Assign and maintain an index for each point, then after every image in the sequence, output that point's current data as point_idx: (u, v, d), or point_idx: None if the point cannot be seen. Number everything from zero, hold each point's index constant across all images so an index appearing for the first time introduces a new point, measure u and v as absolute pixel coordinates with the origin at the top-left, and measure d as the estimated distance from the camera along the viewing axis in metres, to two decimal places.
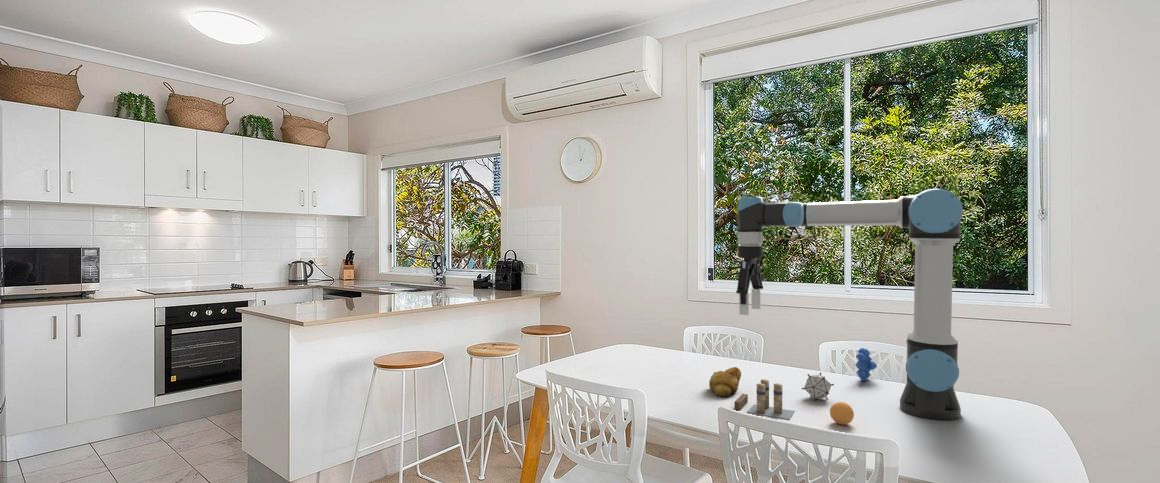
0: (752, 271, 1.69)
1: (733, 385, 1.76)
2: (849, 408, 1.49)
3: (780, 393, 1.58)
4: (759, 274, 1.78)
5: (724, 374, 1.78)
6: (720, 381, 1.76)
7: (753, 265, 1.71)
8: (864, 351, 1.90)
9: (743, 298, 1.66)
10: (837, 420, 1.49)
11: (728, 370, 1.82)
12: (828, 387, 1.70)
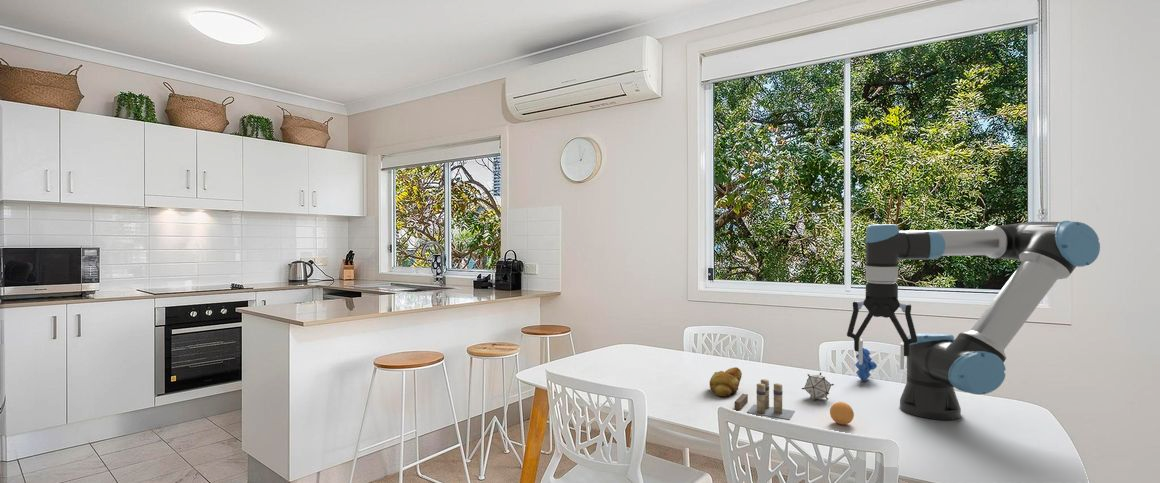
0: (868, 313, 1.45)
1: (733, 385, 1.76)
2: (849, 408, 1.49)
3: (780, 393, 1.58)
4: None
5: (724, 374, 1.77)
6: (720, 381, 1.76)
7: (872, 306, 1.45)
8: (864, 351, 1.90)
9: None
10: (837, 420, 1.49)
11: (729, 370, 1.81)
12: (828, 387, 1.70)
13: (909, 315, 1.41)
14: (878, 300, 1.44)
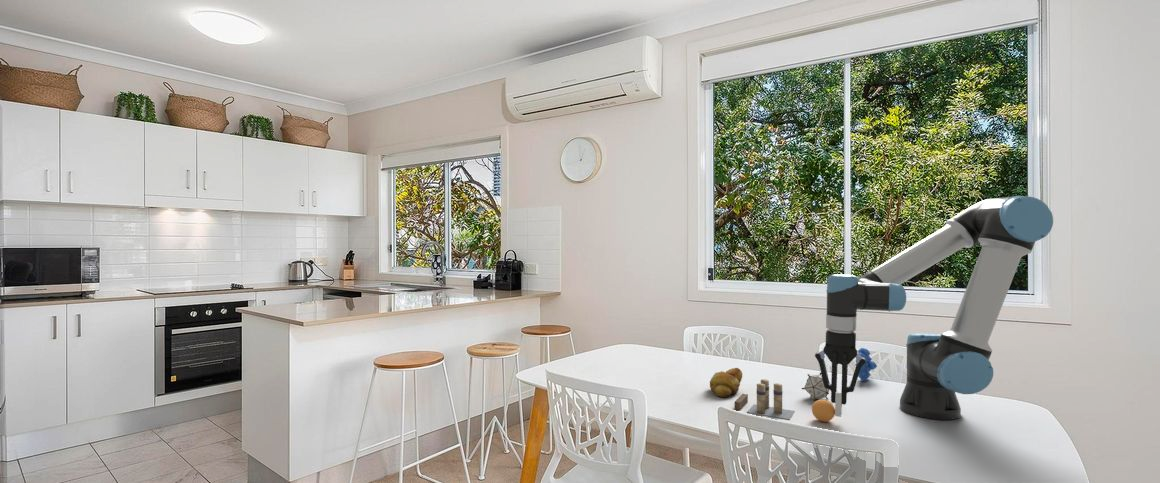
0: None
1: (733, 386, 1.75)
2: (817, 402, 1.53)
3: (780, 393, 1.58)
4: (853, 374, 1.48)
5: (724, 375, 1.77)
6: (720, 381, 1.75)
7: (832, 354, 1.50)
8: (864, 351, 1.90)
9: None
10: (827, 417, 1.50)
11: (729, 370, 1.81)
12: None
13: (859, 368, 1.47)
14: None
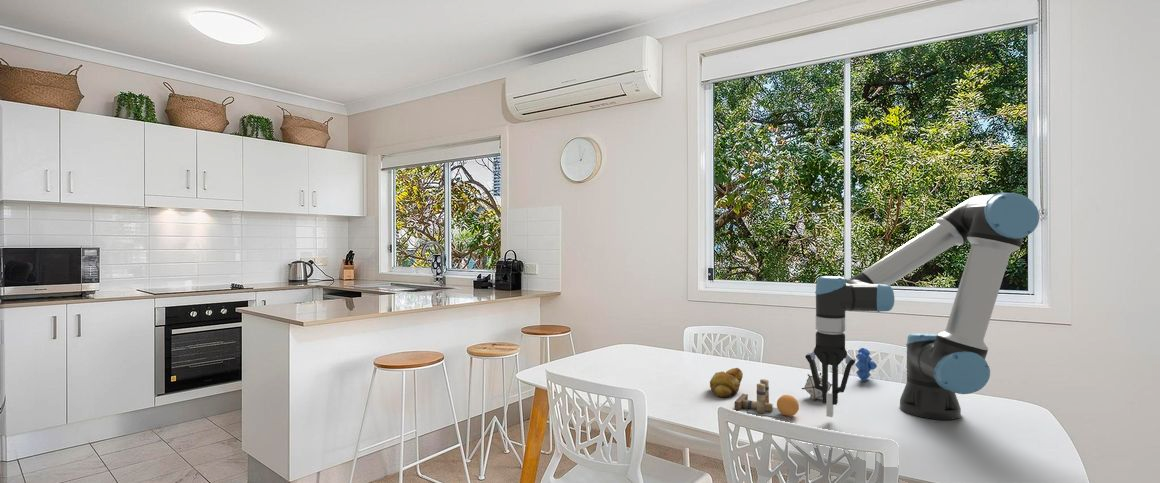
0: None
1: (733, 386, 1.75)
2: (792, 415, 1.56)
3: (749, 402, 1.63)
4: None
5: (724, 375, 1.77)
6: (720, 381, 1.75)
7: (822, 355, 1.51)
8: (864, 351, 1.90)
9: None
10: (782, 404, 1.56)
11: (729, 370, 1.81)
12: (828, 387, 1.70)
13: (849, 368, 1.48)
14: None
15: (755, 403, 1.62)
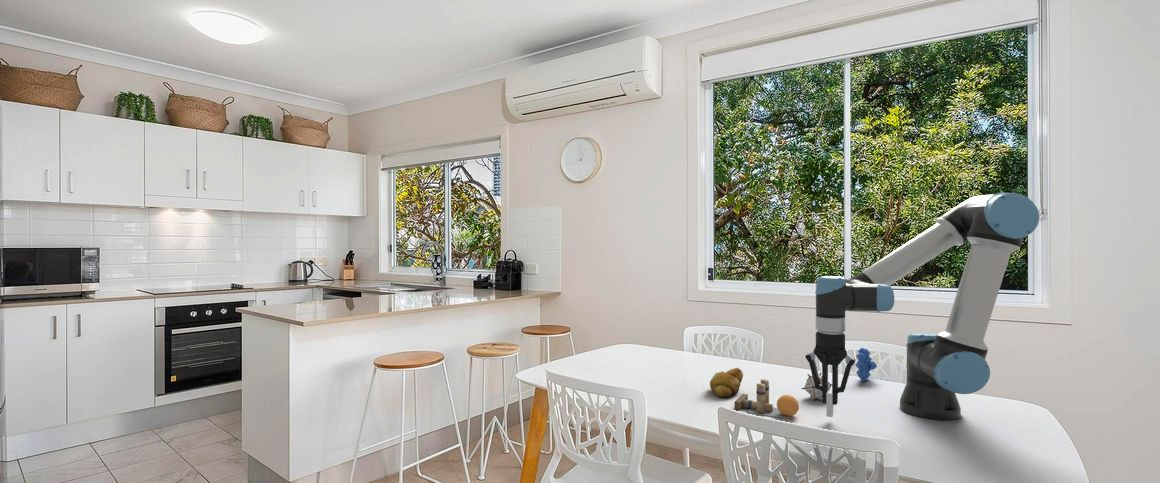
0: None
1: (733, 386, 1.75)
2: (792, 415, 1.56)
3: (750, 402, 1.63)
4: None
5: (725, 375, 1.77)
6: (720, 381, 1.75)
7: (822, 355, 1.51)
8: (864, 351, 1.90)
9: None
10: (782, 404, 1.56)
11: (730, 371, 1.80)
12: (828, 387, 1.70)
13: (849, 368, 1.48)
14: None
15: (755, 403, 1.62)
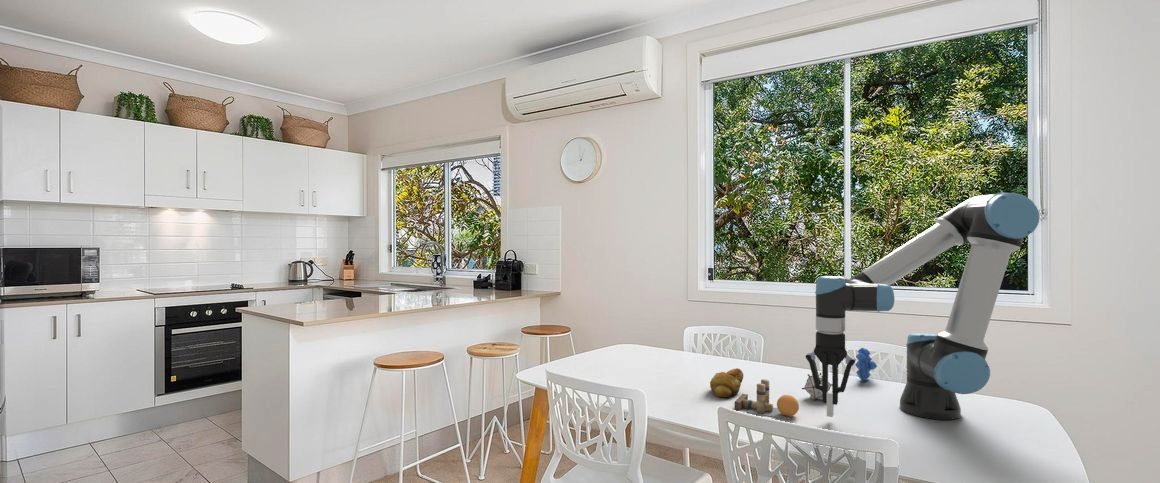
0: (822, 364, 1.51)
1: (733, 386, 1.74)
2: (792, 415, 1.56)
3: (750, 402, 1.63)
4: None
5: (725, 375, 1.76)
6: (720, 382, 1.75)
7: (822, 355, 1.51)
8: (864, 351, 1.90)
9: None
10: (782, 404, 1.56)
11: (730, 371, 1.80)
12: (828, 387, 1.70)
13: (849, 368, 1.48)
14: None
15: (755, 403, 1.62)
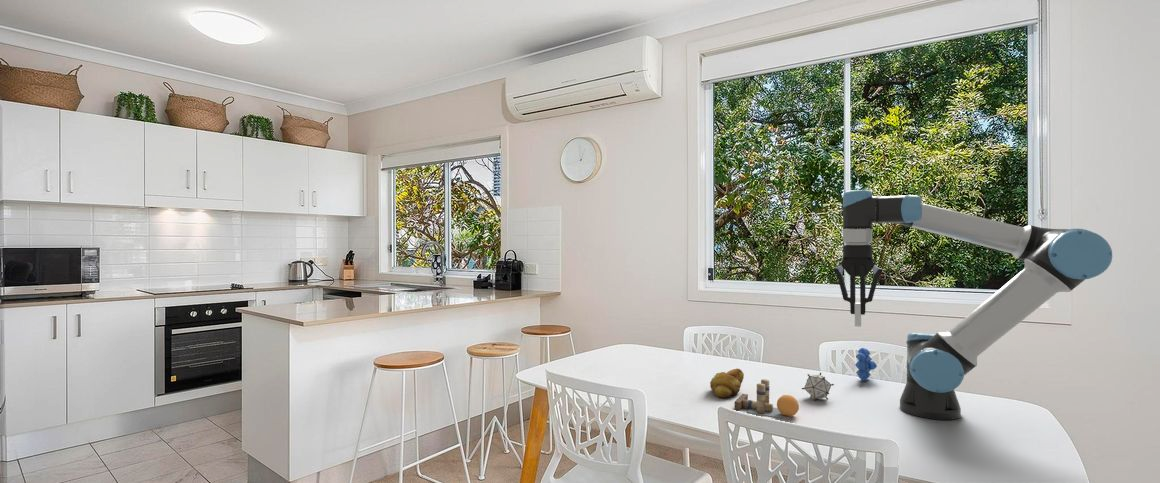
0: None
1: (733, 387, 1.74)
2: (792, 415, 1.56)
3: (750, 402, 1.63)
4: (871, 284, 1.54)
5: (725, 375, 1.76)
6: (720, 382, 1.75)
7: (850, 267, 1.56)
8: (864, 351, 1.90)
9: None
10: (782, 404, 1.56)
11: (730, 371, 1.80)
12: (828, 387, 1.70)
13: (877, 278, 1.53)
14: (852, 257, 1.56)
15: (755, 403, 1.62)
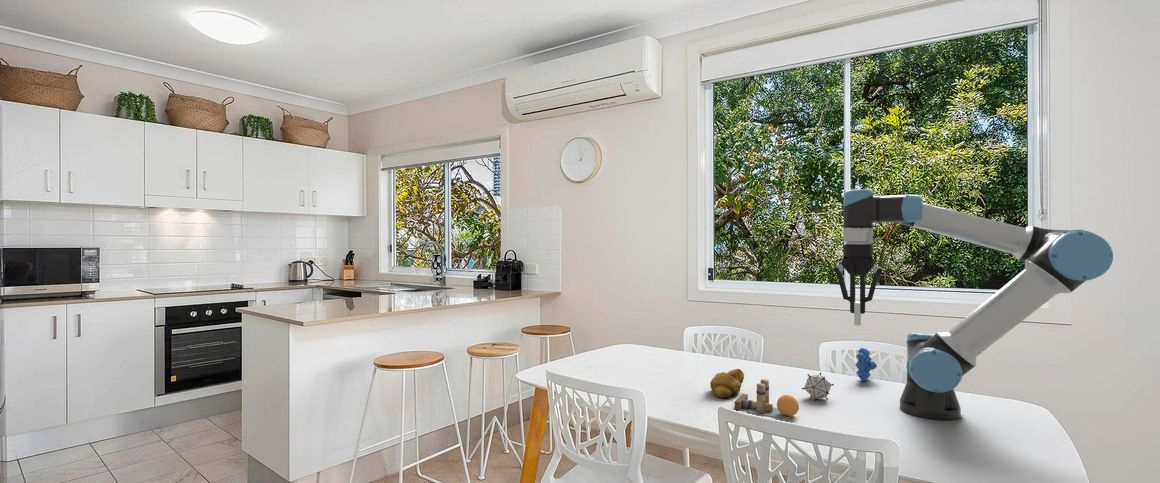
0: None
1: (733, 387, 1.74)
2: (792, 415, 1.56)
3: (750, 402, 1.63)
4: (871, 283, 1.54)
5: (725, 375, 1.76)
6: (720, 382, 1.74)
7: (850, 266, 1.56)
8: (864, 351, 1.90)
9: (850, 306, 1.58)
10: (782, 404, 1.56)
11: (731, 371, 1.80)
12: (828, 387, 1.70)
13: (877, 277, 1.53)
14: (852, 256, 1.56)
15: (755, 403, 1.62)
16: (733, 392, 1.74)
